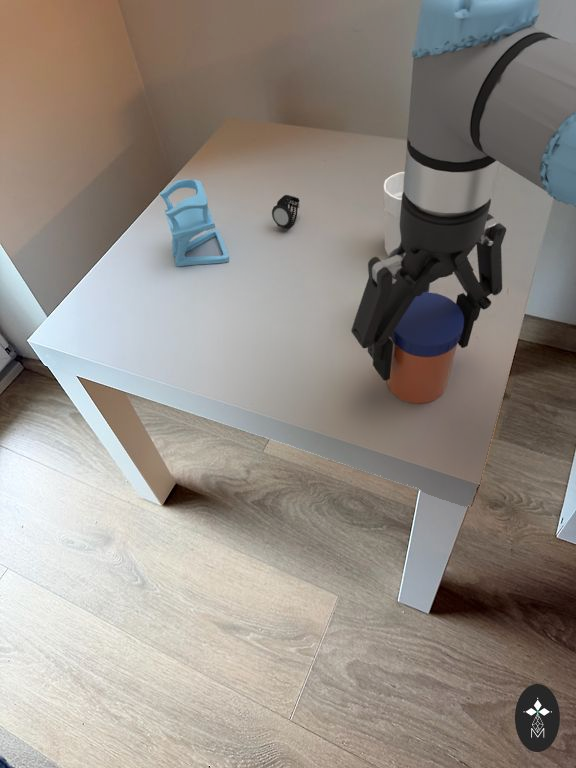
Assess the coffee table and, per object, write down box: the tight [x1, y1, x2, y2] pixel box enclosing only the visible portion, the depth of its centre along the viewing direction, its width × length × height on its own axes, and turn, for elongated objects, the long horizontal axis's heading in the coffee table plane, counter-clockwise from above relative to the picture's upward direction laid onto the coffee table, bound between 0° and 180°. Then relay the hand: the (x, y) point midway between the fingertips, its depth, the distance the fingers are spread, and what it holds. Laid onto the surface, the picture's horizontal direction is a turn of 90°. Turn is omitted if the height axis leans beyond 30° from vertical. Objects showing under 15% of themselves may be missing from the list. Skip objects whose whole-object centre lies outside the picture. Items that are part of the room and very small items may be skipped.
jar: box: [385, 337, 458, 404], centre depth 64 cm, size 8×8×11 cm
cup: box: [383, 171, 405, 257], centre depth 78 cm, size 7×7×11 cm
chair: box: [158, 179, 230, 267], centre depth 82 cm, size 8×8×12 cm
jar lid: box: [390, 291, 464, 357], centre depth 60 cm, size 8×8×2 cm
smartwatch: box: [271, 194, 301, 230], centre depth 86 cm, size 4×5×5 cm
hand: (420, 355), depth 64 cm, fingers open, 10 cm apart
